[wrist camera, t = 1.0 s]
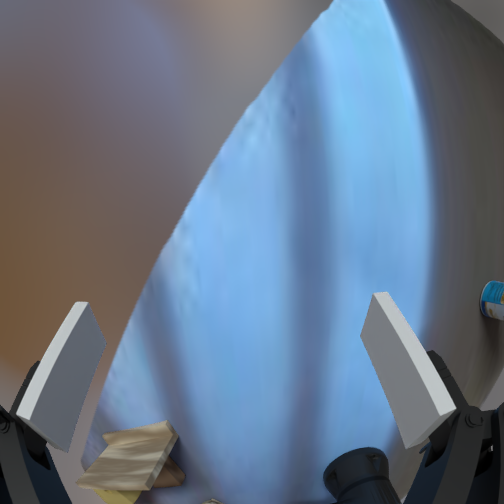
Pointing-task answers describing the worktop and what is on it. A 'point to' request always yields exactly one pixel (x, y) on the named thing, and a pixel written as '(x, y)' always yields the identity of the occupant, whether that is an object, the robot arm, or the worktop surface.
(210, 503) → the washcloth
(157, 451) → the wall board
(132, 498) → the cheese
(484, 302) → the beverage bottle
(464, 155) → the worktop surface
